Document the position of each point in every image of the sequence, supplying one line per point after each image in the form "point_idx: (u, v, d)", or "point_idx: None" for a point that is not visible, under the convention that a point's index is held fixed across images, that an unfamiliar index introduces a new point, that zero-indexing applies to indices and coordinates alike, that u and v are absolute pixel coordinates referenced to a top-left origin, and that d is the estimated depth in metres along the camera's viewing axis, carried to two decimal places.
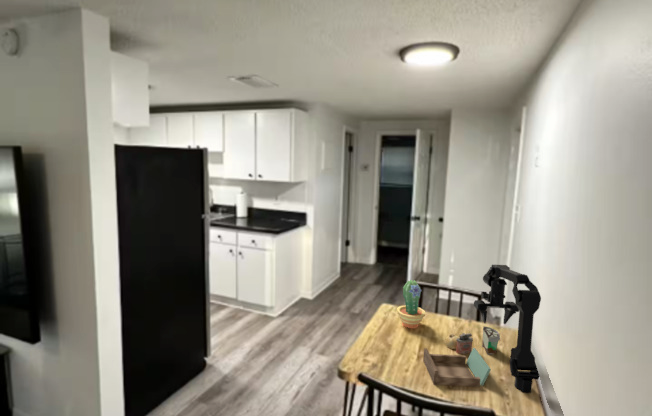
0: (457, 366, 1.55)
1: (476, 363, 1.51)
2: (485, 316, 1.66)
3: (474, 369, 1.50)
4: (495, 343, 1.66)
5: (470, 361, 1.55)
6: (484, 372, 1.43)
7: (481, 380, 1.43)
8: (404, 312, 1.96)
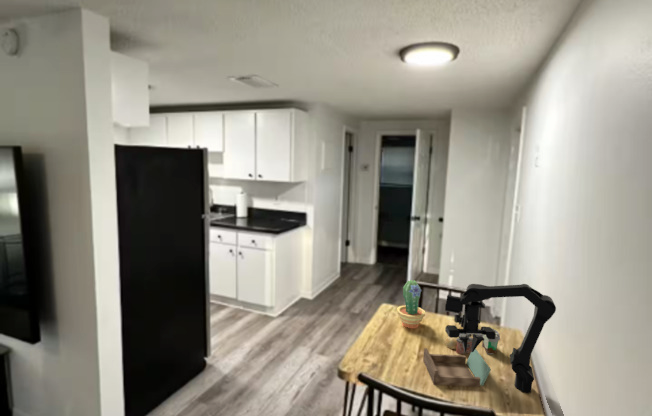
0: (457, 366, 1.55)
1: (476, 363, 1.51)
2: (465, 344, 1.46)
3: (474, 369, 1.50)
4: (495, 343, 1.66)
5: (470, 361, 1.55)
6: (484, 372, 1.43)
7: (481, 380, 1.43)
8: (404, 312, 1.96)
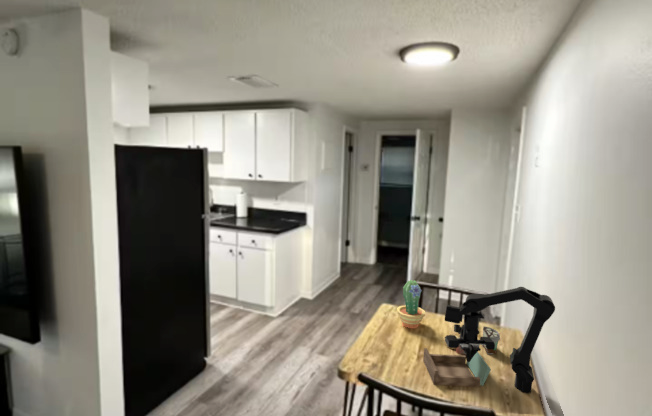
0: (457, 366, 1.55)
1: (476, 363, 1.51)
2: (468, 354, 1.47)
3: (474, 369, 1.50)
4: (495, 343, 1.66)
5: (470, 361, 1.55)
6: (484, 372, 1.43)
7: (481, 380, 1.43)
8: (404, 312, 1.96)
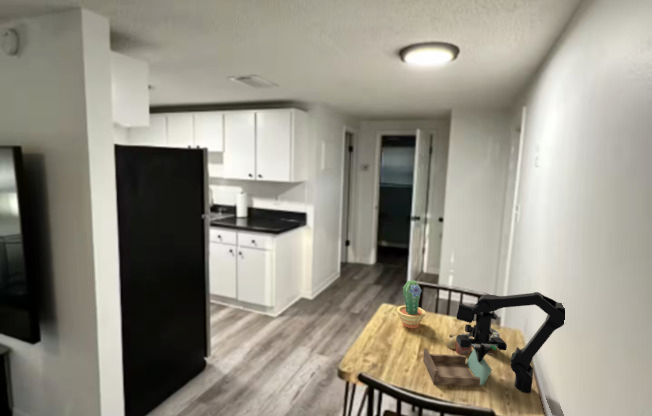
0: (457, 366, 1.55)
1: (476, 363, 1.51)
2: (480, 354, 1.47)
3: (474, 369, 1.50)
4: None
5: (470, 361, 1.55)
6: (485, 372, 1.43)
7: (481, 380, 1.43)
8: (404, 312, 1.96)
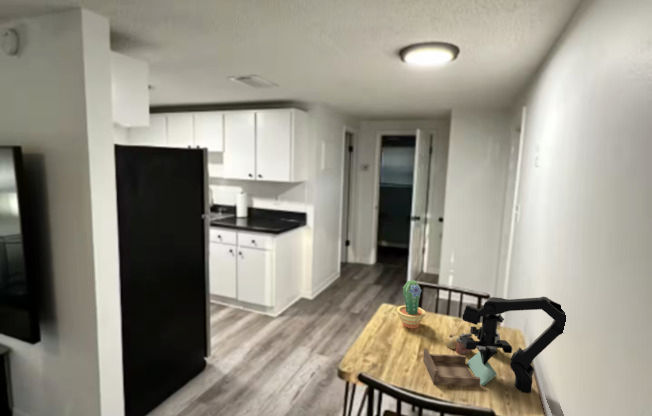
0: (457, 366, 1.55)
1: (479, 365, 1.51)
2: (485, 357, 1.47)
3: (476, 370, 1.50)
4: None
5: (472, 362, 1.55)
6: (489, 374, 1.43)
7: (483, 381, 1.43)
8: (404, 312, 1.96)
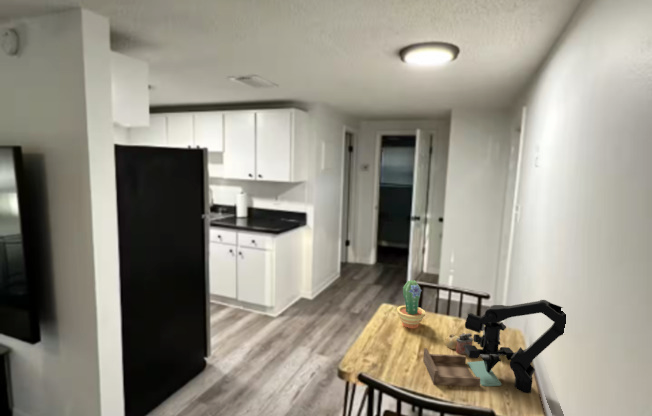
0: (457, 366, 1.55)
1: (483, 370, 1.51)
2: (488, 365, 1.47)
3: (478, 372, 1.50)
4: None
5: (474, 365, 1.55)
6: (493, 381, 1.43)
7: (485, 383, 1.43)
8: (404, 312, 1.96)
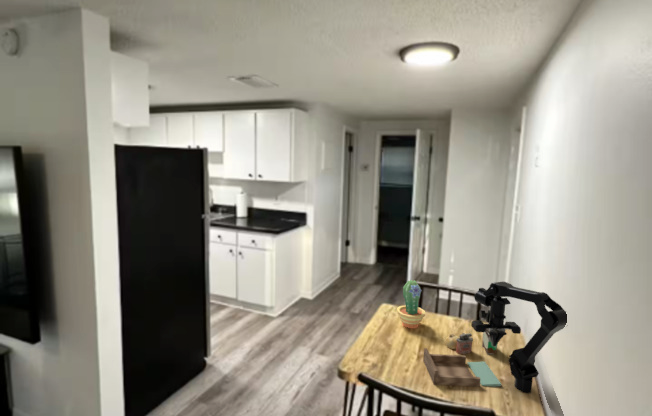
0: (457, 366, 1.55)
1: (483, 370, 1.51)
2: (494, 338, 1.52)
3: (478, 372, 1.50)
4: None
5: (474, 365, 1.55)
6: (493, 382, 1.43)
7: (485, 383, 1.43)
8: (404, 312, 1.96)
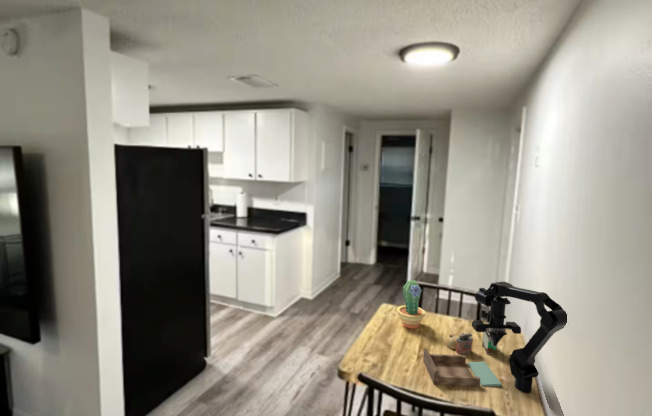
0: (457, 366, 1.55)
1: (483, 370, 1.51)
2: (494, 338, 1.52)
3: (478, 372, 1.50)
4: None
5: (474, 365, 1.55)
6: (493, 382, 1.43)
7: (485, 383, 1.43)
8: (404, 312, 1.96)
